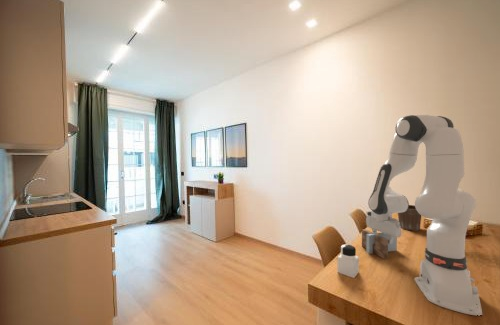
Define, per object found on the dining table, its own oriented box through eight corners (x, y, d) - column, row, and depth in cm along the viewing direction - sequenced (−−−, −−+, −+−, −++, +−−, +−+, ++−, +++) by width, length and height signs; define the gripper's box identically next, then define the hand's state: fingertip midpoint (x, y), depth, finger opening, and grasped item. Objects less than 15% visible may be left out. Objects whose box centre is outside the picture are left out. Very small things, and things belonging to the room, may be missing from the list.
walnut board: (387, 258, 107) (388, 239, 107) (384, 259, 107) (384, 239, 107) (364, 246, 123) (364, 229, 123) (361, 246, 123) (361, 229, 123)
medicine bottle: (359, 272, 95) (359, 245, 95) (354, 278, 90) (354, 250, 90) (342, 266, 100) (342, 241, 100) (337, 272, 95) (337, 246, 94)
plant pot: (390, 226, 158) (390, 205, 158) (403, 223, 165) (403, 203, 165) (415, 233, 144) (415, 210, 144) (428, 230, 151) (428, 207, 150)
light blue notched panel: (369, 253, 113) (369, 235, 113) (366, 252, 115) (366, 234, 115) (396, 250, 117) (396, 232, 117) (393, 249, 119) (393, 231, 119)
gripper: (404, 219, 106) (405, 246, 106) (373, 210, 126) (373, 233, 126) (394, 220, 105) (394, 247, 105) (364, 211, 125) (364, 234, 125)
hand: (382, 240), depth 115 cm, fingers open, 8 cm apart
